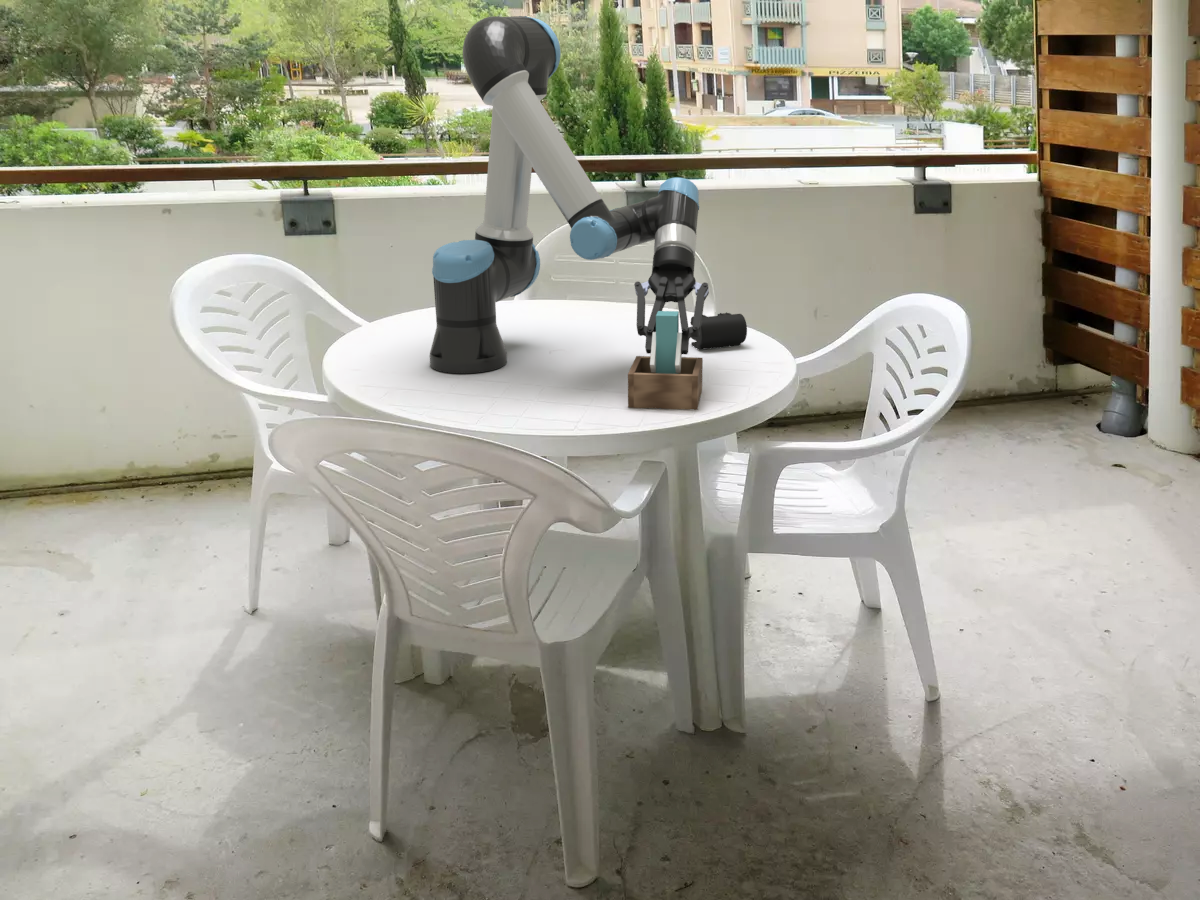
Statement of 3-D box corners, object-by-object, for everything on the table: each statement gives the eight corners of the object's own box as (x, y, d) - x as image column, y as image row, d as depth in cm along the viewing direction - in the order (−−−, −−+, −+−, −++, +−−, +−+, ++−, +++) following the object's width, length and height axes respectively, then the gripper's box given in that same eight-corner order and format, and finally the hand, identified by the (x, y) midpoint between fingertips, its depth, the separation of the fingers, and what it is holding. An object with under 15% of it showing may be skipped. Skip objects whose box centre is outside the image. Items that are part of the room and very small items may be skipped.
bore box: (628, 407, 203) (627, 374, 201) (636, 387, 214) (636, 356, 212) (697, 409, 201) (697, 376, 199) (702, 389, 212) (702, 357, 210)
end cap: (701, 353, 236) (702, 321, 234) (688, 345, 243) (688, 313, 240) (747, 349, 239) (747, 316, 237) (732, 341, 246) (733, 309, 243)
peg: (656, 388, 205) (655, 315, 201) (658, 382, 208) (658, 311, 204) (676, 388, 205) (676, 316, 200) (678, 383, 208) (678, 311, 204)
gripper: (721, 268, 214) (714, 380, 204) (630, 267, 216) (619, 378, 206) (719, 243, 207) (712, 359, 197) (626, 243, 209) (614, 356, 199)
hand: (665, 368), depth 202 cm, fingers closed on peg, 4 cm apart
